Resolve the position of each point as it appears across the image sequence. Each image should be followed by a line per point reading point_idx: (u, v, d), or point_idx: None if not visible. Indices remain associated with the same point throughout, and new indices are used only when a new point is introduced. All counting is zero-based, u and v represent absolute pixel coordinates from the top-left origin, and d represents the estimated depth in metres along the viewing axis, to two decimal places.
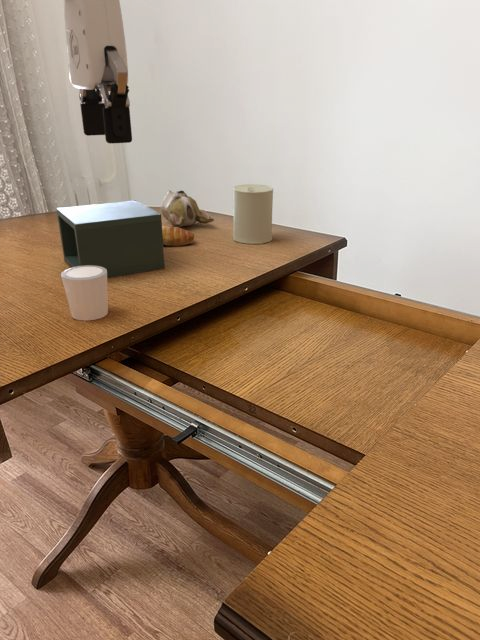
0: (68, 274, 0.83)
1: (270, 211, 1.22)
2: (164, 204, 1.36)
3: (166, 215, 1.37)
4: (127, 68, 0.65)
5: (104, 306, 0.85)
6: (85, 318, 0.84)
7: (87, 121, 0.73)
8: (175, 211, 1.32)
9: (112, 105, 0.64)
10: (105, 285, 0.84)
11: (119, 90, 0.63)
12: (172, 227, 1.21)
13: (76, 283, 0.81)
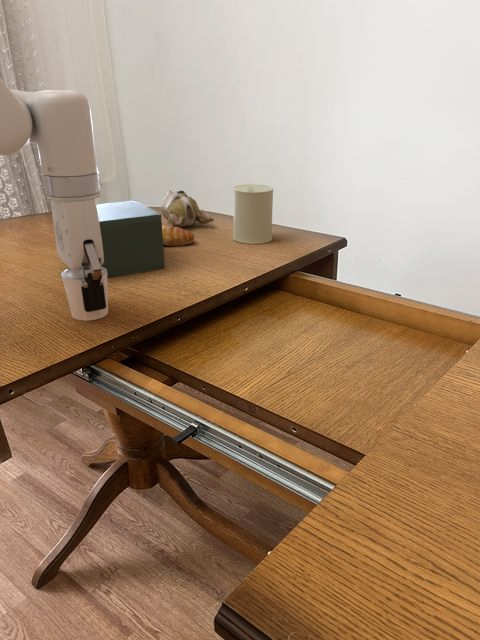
0: (68, 274, 0.83)
1: (270, 211, 1.22)
2: (164, 204, 1.36)
3: (166, 215, 1.37)
4: (102, 252, 0.79)
5: None
6: (85, 318, 0.84)
7: None
8: (175, 211, 1.32)
9: (89, 286, 0.80)
10: (105, 285, 0.84)
11: (94, 279, 0.78)
12: (172, 227, 1.21)
13: (76, 283, 0.81)
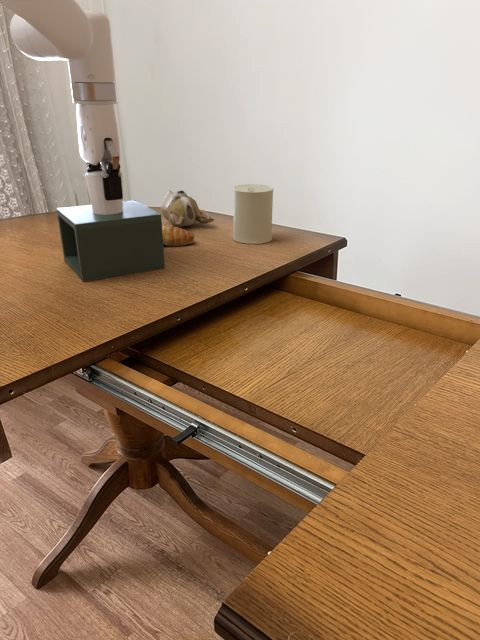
0: (90, 174, 1.00)
1: (270, 211, 1.22)
2: (164, 204, 1.36)
3: (166, 215, 1.37)
4: (119, 150, 0.96)
5: (120, 203, 1.02)
6: (104, 212, 1.01)
7: None
8: (175, 211, 1.32)
9: (109, 176, 0.95)
10: None
11: (114, 167, 0.94)
12: (172, 227, 1.21)
13: (97, 180, 0.98)
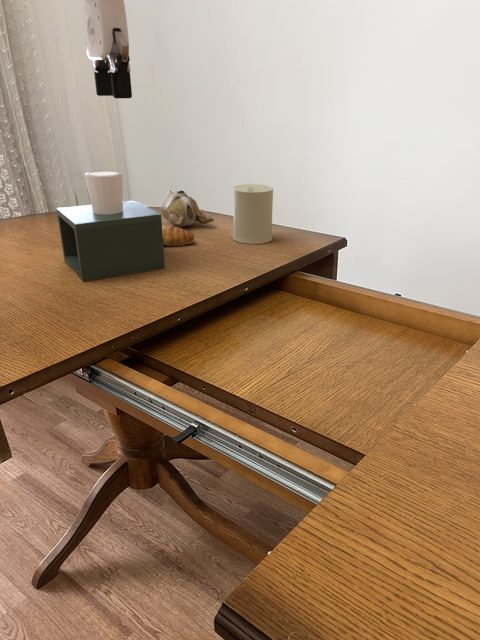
0: (90, 174, 1.00)
1: (270, 211, 1.22)
2: (164, 204, 1.36)
3: (166, 215, 1.37)
4: None
5: (120, 203, 1.02)
6: (104, 212, 1.01)
7: (99, 85, 1.00)
8: (175, 211, 1.32)
9: (118, 70, 0.91)
10: (121, 185, 1.01)
11: (123, 59, 0.89)
12: (172, 227, 1.21)
13: (97, 180, 0.98)
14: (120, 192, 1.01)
